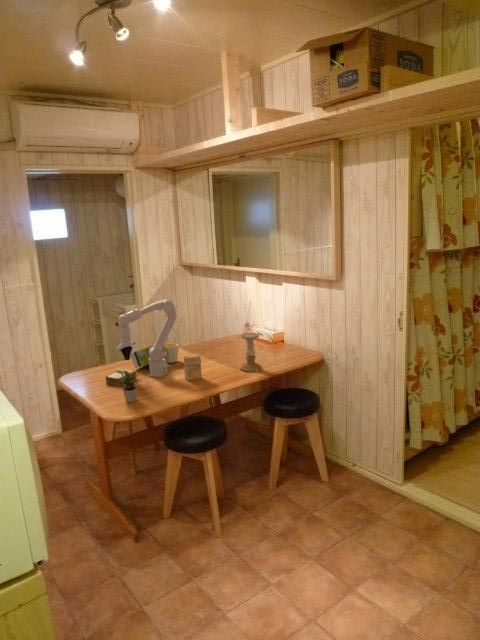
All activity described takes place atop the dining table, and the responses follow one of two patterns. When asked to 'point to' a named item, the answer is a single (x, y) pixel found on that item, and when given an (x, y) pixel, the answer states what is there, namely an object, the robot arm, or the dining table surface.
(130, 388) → the house plant
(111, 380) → the walnut box
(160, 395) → the dining table surface
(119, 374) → the cover plate
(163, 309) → the robot arm
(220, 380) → the dining table surface
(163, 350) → the tea box
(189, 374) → the supplement box
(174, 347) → the mug
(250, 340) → the candle holder
